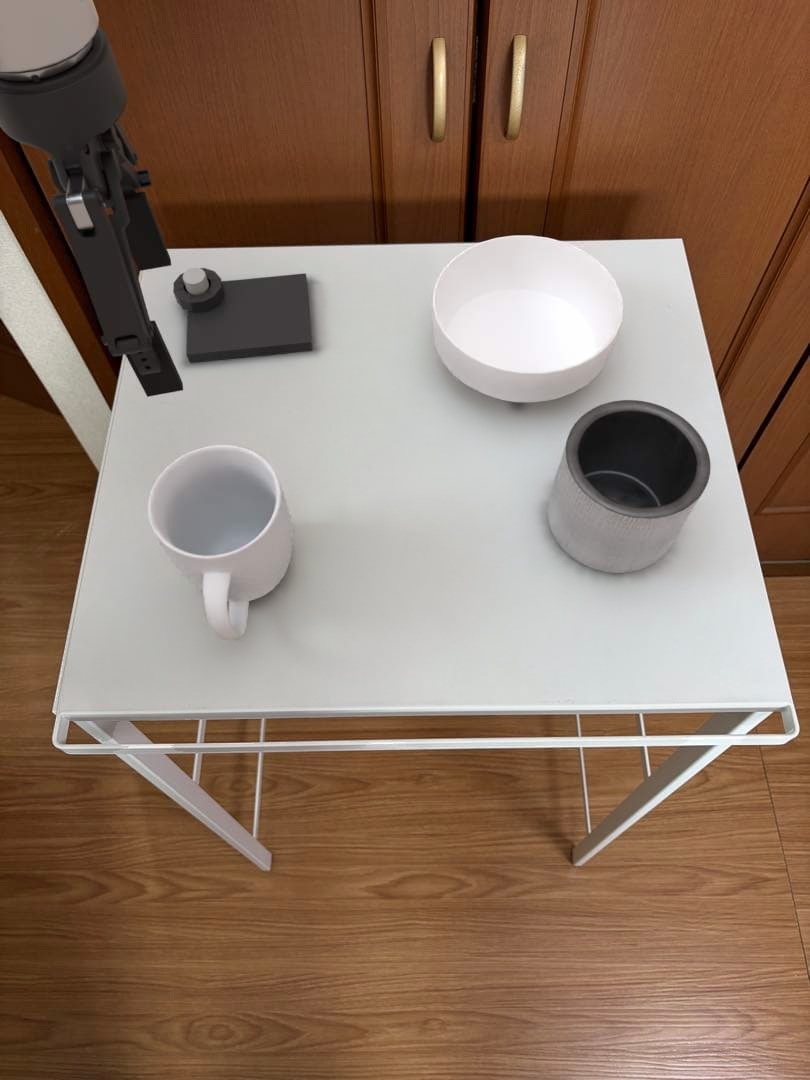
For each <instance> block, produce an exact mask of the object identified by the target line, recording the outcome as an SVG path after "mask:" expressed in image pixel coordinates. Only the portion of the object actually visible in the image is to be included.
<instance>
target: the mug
mask: <svg viewBox="0 0 810 1080" xmlns="http://www.w3.org/2000/svg"><path fill="white" fill-rule="evenodd" d="M147 516H148V521H149V524H150V528H151V530H152V532H153V533H154V535H155V537H156V538H157V540H158V541H159V545H160V546H161V547H162V548H163V549H164V552H165V554H166V555H167V556H168V557H169V559H170V562H172V563H173V564H174V565H175V567H176V568H177V570H179V571H180V573H181V574H182V576H183V577H184V578H186V579H187V580H188V582H190V583H191V584H193V585H194V587H196V588H198V589H200V590H201V591H202V596H203V603H204V610H205V615H206V619H207V621H208V624H209V627H210V629H211V630H212V632H213V634H214V635H215V636H217V637H218V638H219V639H221V640H226V641H234V640H235V641H236V640H239V639H240V638H242V637H243V636H244V634H245V632H246V629H247V626H248V619H249V618H248V617H249V605H250V601H253V600H257V599H260V598H262V597H264V596H267V594H268V593H270V592H271V591H273V590H274V589H275V588H276V586H278V585H279V584H280V583H281V580H282V579H283V578H284V577H285V575H286V572H287V571H288V568H289V566H290V564H291V563H290V562H291V559H292V551H293V549H294V548H293V544H294V539H293V537H294V536H293V535H294V531H293V524H292V520H291V519H292V518H291V517H292V516H291V514H290V508H289V507H288V503H287V499H286V497H285V492H284V490H283V488H282V485H281V482H280V478H279V477H278V474H277V473H276V471H275V470H274V468H273V466H272V465H271V464H270V463H269V461H267V460H266V459H265V458H264V457H263V456H261V455H260V454H259V453H257V452H255V451H253V450H250V449H248V448H245V447H242V446H238V445H233V444H213V445H207V446H203V447H199V448H196V449H193V450H191V451H189V452H186V453H184V454H182V455H181V456H179V457H177V458H176V459H174V460H173V461H172V462H171V463H169V465H167V466H166V467H165V468H164V469H163V471H162V472H161V473H160V474H159V475H158V477H157V478H156V479H155V482H154V484H153V486H152V488H151V489H150V493H149V496H148V500H147Z"/></svg>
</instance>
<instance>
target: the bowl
mask: <svg viewBox="0 0 810 1080" xmlns="http://www.w3.org/2000/svg"><path fill="white" fill-rule="evenodd" d="M431 295H432V296H431V298H432V301H431V302H432V303H431V304H432V306H431V307H432V309H431V312H432V313H431V317H432V319H431V321H432V322H431V323H432V336H433V341H434V345H435V349H436V352H437V354H438V356H439V357H440V359H441V361H442V363H443V365H444V366H445V367H446V368H447V369H448V370H449V372H450V373H451V374H452V375H453V376H454V377H455V378H457V379H458V380H459V381H461V382H462V383H463V384H465V386H467V387H469V388H471V389H473V390H474V391H476V392H478V393H481V394H483V395H486V396H487V397H488V396H489V397H491V398H494V399H498V400H501V401H507V402H513V403H539V402H546V401H554V400H556V399H560V398H562V397H565V396H569V395H571V394H573V393H575V392H577V391H578V390H580V389H582V388H585V387H586V386H587V385H588V384H589V383H591V382H592V381H594V379H595V378H597V377H598V375H599V374H600V372H601V371H602V369H604V367H605V366H606V364H607V362H608V360H609V357H610V355H611V353H612V351H613V348H614V346H615V343H616V341H617V338H618V335H619V333H620V330H621V328H622V325H623V319H624V310H625V308H624V307H625V306H624V302H623V296H622V292H621V290H620V288H619V286H618V283H617V281H616V279H615V278H614V276H612V274H611V272H610V271H609V270H608V269H607V268H606V267H605V266H604V265H603V264H602V263H601V262H600V261H599V260H598V259H597V258H595V257H594V256H592V255H591V254H589V253H587V252H586V251H584V250H583V249H581V248H579V247H576V246H575V245H573V244H570V243H567V242H565V241H562V240H558V239H554V238H550V237H545V236H537V235H506V236H501V237H495V238H491V239H488V240H484V241H481V242H478V243H476V244H473V245H472V246H470V247H468V248H465V249H464V250H463V251H461V252H459V254H457V255H456V256H454V257H453V258H452V259H451V260H450V261H448V263H447V264H446V265H445V266H444V267H443V269H442V271H441V272H440V274H439V276H438V277H437V279H436V280H435V283H434V286H433V290H432V294H431Z"/></svg>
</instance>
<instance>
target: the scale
mask: <svg viewBox="0 0 810 1080" xmlns="http://www.w3.org/2000/svg"><path fill="white" fill-rule="evenodd" d="M199 268H200V269H202V270H203V271H204V272H205V274H206V277H207V280H208V283H209V288H208V290H207V291H206V292H204V293H202V294H198V295H193V294H190V293H189V292H188V291H187V289H186V286H185V283H184V280H183V274H184V273H185V271H184V272H182V273H181V274H179V275H178V277H177V278H176V279H175V280H174V282H173V287H172V288H173V289H172V290H173V291H172V293H173V295H174V298H175V301H176V302H177V304H178V305H179V307H180V308H181V309H183V310H184V311H187V320H186V321H187V322H186V327H187V328H186V352H185V353H186V358H187V360H188V362H189V364H191V363H200V362H201V363H202V362H211V361H220V360H232V359H243V358H253V357H260V356H269V355H270V356H272V355H279V354H280V355H281V354H290V353H302V352H310V351H311V352H312V351H313V350H314V349H313V339H312V338H313V337H312V323H311V313H310V312H311V311H310V301H309V299H310V298H309V285H308V278H307V273H304V272H303V273H295V274H285V275H283V274H282V275H274V276H273V275H272V276H264V277H254V278H253V277H252V278H242V279H232V280H222V277H220V275H219V274H218V273H217V272H216V271H214V270H212V269H209V268H206V267H199Z"/></svg>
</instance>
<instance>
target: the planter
mask: <svg viewBox="0 0 810 1080" xmlns="http://www.w3.org/2000/svg"><path fill="white" fill-rule="evenodd" d="M708 450H709V449H708V447H707V445H706V443H705V441H704V439H703V438H702V436H701V434H700V433H699V432H698V430H696V428H695V427H694V426H693V425H692V424H691V423H690V422H688V420H686V418H684V417H682V416H681V415H679V414H678V413H677V412H674V411H673V410H671V409H669V408H667V407H664V406H662V405H659V404H657V403H654V402H649V401H645V400H635V399H620V400H613V401H609V402H605V403H602V404H599V405H597V406H595V407H592V408H591V409H589V410H588V411H587V412H585V413H584V414H583V415H582V416H580V418H578V419H577V421H576V422H575V423H574V424H573V426H572V428H571V429H570V431H569V433H568V436H567V438H566V442H565V446H564V449H563V452H562V455H561V458H560V461H559V464H558V468H557V470H556V474H555V476H554V480H553V483H552V486H551V489H550V491H549V495H548V500H547V513H546V514H547V515H546V516H547V522H548V525H549V528H550V531H551V534H552V536H553V538H554V540H556V542H557V544H558V545H559V546H560V547H561V549H562V550H563V551H564V552H565V553H566V554H567V555H569V556H570V557H571V558H572V559H574V560H575V561H577V562H578V563H580V564H581V565H584V566H586V567H589V568H590V569H594V570H597V571H600V572H604V573H605V572H606V573H612V574H624V573H625V574H626V573H632V572H637V571H640V570H643V569H645V568H647V567H650V566H651V565H653V564H655V563H656V562H658V561H659V560H660V559H661V558H662V557H663V556H664V555H665V554H666V553H667V552H668V550H669V549H670V548H671V546H672V544H673V543H674V542H675V540H676V538H677V537H678V535H679V533H680V531H681V530H682V528H683V527H684V525H685V523H686V521H687V519H688V518H689V516H690V515H691V513H692V512H693V510H694V508H695V506H696V505H697V503H698V502H699V500H700V498H701V497H702V495H703V493H704V492H705V490H706V488H707V486H708V483H709V480H710V476H711V468H712V467H711V457H710V454H709V451H708Z"/></svg>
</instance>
